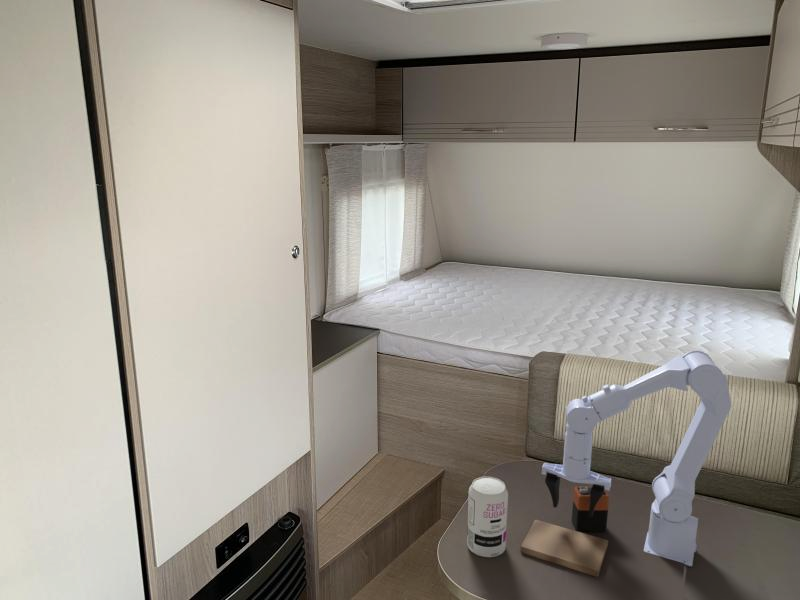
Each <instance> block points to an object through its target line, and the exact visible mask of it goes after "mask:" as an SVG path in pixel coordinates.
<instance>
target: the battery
mask: <svg viewBox="0 0 800 600" xmlns="http://www.w3.org/2000/svg"><path fill="white" fill-rule="evenodd" d="M591 488H592V486H575V487H573V498H572V508H571V509H572V512H571V522H572V525H573V527H574V529H575V531H577V532H581V533H602V532H603V533H605V532H606V531H607V524H608V517H609V503H610V496H609V494H608V493H607V490H604V492H603V495H602V496H601V498H600V499H599V501H598V502H597V504H596V506H595V508H594V512H593V515H592V517H588V514H589V508H590V491H591Z"/></svg>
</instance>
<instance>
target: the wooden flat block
mask: <svg viewBox="0 0 800 600" xmlns="http://www.w3.org/2000/svg"><path fill="white" fill-rule="evenodd" d="M608 545H609V540H608V539H605V538H601V537H598V536H594V535H590V534H588V533H585V532H577V531H576V530H574V529H570V528H566V527H564V526H563V527H562V526H559V525H556V524H553V523H550V522H547V521H542V520H539V519H534V521H533V523H532V524H531V526H530V528H529V530H528V533H527V534H526V536H525V538H524V539H523V542H522V543H521V545H520V553H523V554H525V555H528V556H531V557H534V558H537V559H539V560H540V559H541V560H543V561H546V562H550V563H553V564H554V565H555V564H556V565H559V566H562V567H564V568H568V569H571V570H573V571H574V570H575V571H578V572H581V573H583V574H584V573H585V574H587V575H590V576H593V577H597V578H598V577H599V575H600V573H601V569H602V567H603V566H602V565H603V562H604V559H605V555H606V553H607V550H608Z"/></svg>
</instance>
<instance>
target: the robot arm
mask: <svg viewBox="0 0 800 600" xmlns="http://www.w3.org/2000/svg"><path fill="white" fill-rule="evenodd" d="M687 386H689V387H690V389H691V390H692V391H694V393H696V395H697V396H698V398H699V400H700V403H699V405H698V408H697V409H696V411H695V413H694V415H693V417H692V419H691V422H690V424H689V425H688V428H687V430H686V432H685V434H684V437H683V438H682V440H681V442H680V444H679V447H678V449H677V450H676V453H675V454H674V457H673V459H672V461H671V463H670V464H669V465H667V466H665V467H664V468H663V470H662V472H661V473H660V474H659V475H657V476H656V477H655V478H653V481H652V483H651V490H652V492H653V494H654V497H655V499H654V500H653V502H652V503H651V508H650V516H649V525H648V531H647V533H646V536H645V543H644V546H643V547H644V548H643V552H645V553H647V554H651V555H654V556H657V557H661V558H664V559H668V560H671V561H675V562H679V563H682V564H684V566H687V567H693V564H694V555H695V553H696V551H697V545H698V544H697V543H696V541H697V540H696V539H697V532H698V525H699V518H698V517H695V516H693V515H692V513H693V506H692V504H693V503H692V502H693V500H694V498H695V491H696V490H695V489H696V488H695V487H696V479H697V477H698V475H699V474H700V471H701V469H702V467H703V466H704V463H705V461H706V459H707V457H708V455H709V453H710V451H711V448H712V447H713V445H714V444H715V441H716V439H717V437H718V436H719V434H720V431H721V429H722V427H723V426H724V423H725V422H726V418H727V417H728V415H729V413H730V411H731V408H732V406H733V405H732V400H731V395H730V388H729V380H728V378H727V377H726V375H725V374H724V373H723V371H722V370H721V369H720V368H719V366H717V365H716V363H715V362H714V361H713V360H712V358H711V357H710V356H709V354H707V353H706V352H704V351H703V350H702V351H701V350H695V349H694V350H690V351H687V352H686V353H684V354H683V355H678V356H674V357H673V358H672V359H671V360H669V361H667V363H665V364H663V365H661V366H660V367H657V368H656V369H654V370H652V371H650V372H648V373H646V374H644V375H642V376H641V377H637V379H635V380H633V381H631V382H629V383H627V384H625V385H619V384H615V383H613V384H612V385H609V384H608V383H606V384H605V385H603V386H602V389H601V390H599V391H597V392H594V393H592V394H590V395H588V396H587V394H586V395H584V396H582V397H581V398H574V399H572V400H570V401H569V402H568V404H567V405H566V407H565V409H564V410H565V414H566V426H565V430H566V431H565V433H564V445H563V461H562V464H558V463H548V462H544V463H543V464H542V466H541V475H544V476H545V479H544V482H545V486H547V488H548V490H549V493H550V496H551V500H552V507H553V508H555V509H557V508H558V505H559V502H560V483H561V478H562V479H564V480H566V481H569V482H571V483H575V484H577V483H578V484H587V485H591V487H592V488H591V491H590V508H589V514H588V517H592V515H593V512H594V508H595V506H596V504H597V502H598V501H599V499H600V498H601V496H602V495H603V492H604V490H605V491H608V492H610V490H611V485H612V478H611V477H606V476H604V475H602V474H599V473H597V472H594V471H592V470H591V465H592V453H593V451H592V450H593V438H594V436H593V430H594V429H595V428H596V427H597V424H598V423H601V422H602V421H604V420H607V419H610V418H612V417H614V416H616V415H618V414H620V413H623V412H626V411H627V410H629V408H630V406H631V403H632V402H633V401H635V400H638V399H641V398H643V397H645V396H649V395H651V394H654V393H656V392H658V391H662V390H664V389H667V388H673V389H677V390H681V391H684V392H687V391H688V388H687Z"/></svg>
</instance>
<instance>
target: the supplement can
mask: <svg viewBox="0 0 800 600" xmlns="http://www.w3.org/2000/svg"><path fill="white" fill-rule="evenodd" d="M467 498H468V500H467V504H468V505H467V530H466V531H467V533H466V536H467V537H466V538H467V539H466V545H467V548H468V549H469V550H470V551H471V553H473V554H475V555H476V556H479V557H482V558H483V557H484V558H494V557H495V558H496V557H498V556H500V555H502V554H503V553H504V552H505V551H506V547H507V544H506V543H507V542H506V541H507V525H508V524H507V523H508V506H509V505H508V503H509V491H508V490H507V487H506V484H505V482H504V481H502V480H501V479H499V478H497V477H494V476H480V477H478V478H477V477H476V478H475V479H474V480H472V484H471V485H470V486H469V489H468V497H467Z"/></svg>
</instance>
